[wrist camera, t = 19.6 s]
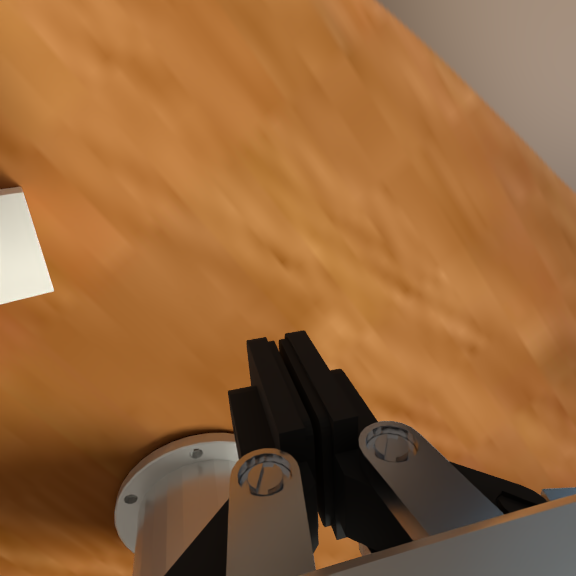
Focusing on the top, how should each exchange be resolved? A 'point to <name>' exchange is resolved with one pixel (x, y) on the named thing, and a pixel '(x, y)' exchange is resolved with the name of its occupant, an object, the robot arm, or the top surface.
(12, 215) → the domino
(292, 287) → the top surface
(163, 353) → the top surface
